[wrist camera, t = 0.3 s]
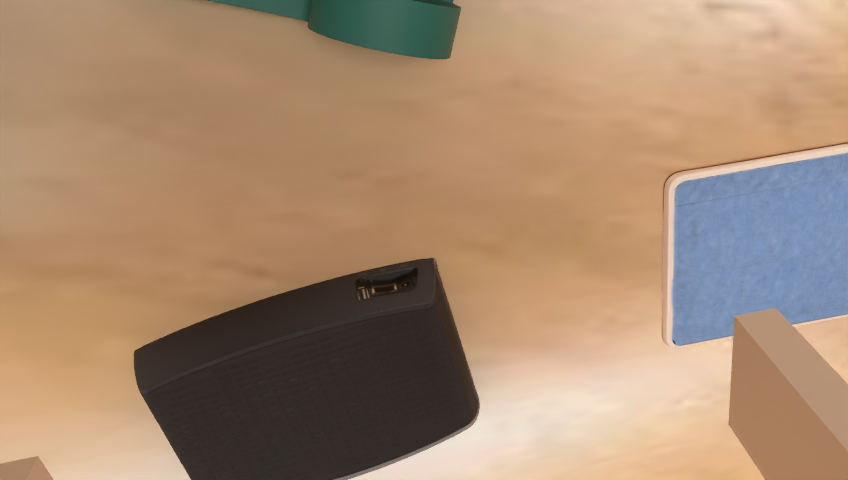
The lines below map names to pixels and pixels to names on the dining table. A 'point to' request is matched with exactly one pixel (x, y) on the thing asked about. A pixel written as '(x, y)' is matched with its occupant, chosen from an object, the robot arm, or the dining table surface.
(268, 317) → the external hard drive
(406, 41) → the bracket
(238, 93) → the dining table surface
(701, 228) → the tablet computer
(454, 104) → the dining table surface
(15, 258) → the dining table surface
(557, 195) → the dining table surface
